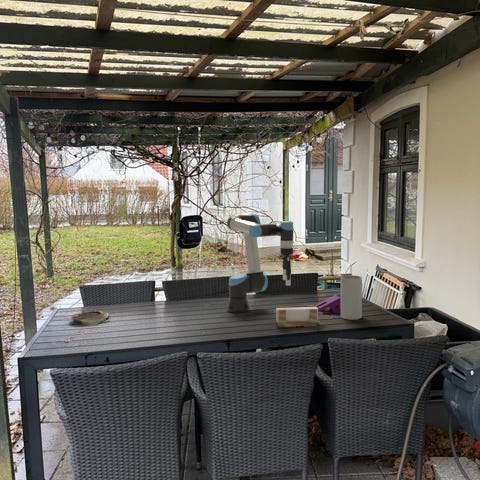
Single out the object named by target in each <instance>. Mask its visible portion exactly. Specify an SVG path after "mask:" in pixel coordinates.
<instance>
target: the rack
mask: <svg viewBox="0 0 480 480" xmlns="http://www.w3.org/2000/svg"><path fill="white" fill-rule="evenodd" d="M306 306H307V307H314V306H315V304H308V305H306ZM276 308H285V305H277V306H276ZM276 322H277V321H276ZM277 325H278V327H279V328H292V327H293V328H294V327H295V328H297V327H296V326H298V327H299V326H304V327H318V321H317V309H310V321H286V310H279V322H277Z"/></svg>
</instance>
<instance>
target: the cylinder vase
mask: <svg viewBox="0 0 480 480" xmlns="http://www.w3.org/2000/svg"><path fill="white" fill-rule="evenodd" d="M362 295H363V277H362V276H360V275H355V274H354V275H351V274H348V275H347V274H346V275H341V276H340V300H341V312H340V318H341V319H345V320H347V321H349V320H350V321H357V320H359V319H362V316H363V312H362V311H363V308H362V307H363V305H362V304H363V298H362V297H363V296H362Z"/></svg>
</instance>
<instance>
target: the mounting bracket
mask: <svg viewBox="0 0 480 480" xmlns="http://www.w3.org/2000/svg"><path fill="white" fill-rule="evenodd" d="M314 307H317V308H318V312H322V311H325V310H326V309H328V308H329V309H330V310H331V311H332V312H333V313H335V314H336V313H338V314H339V313H341V297H339V296H338V295H337V294H334V295H333V296H330V297H329V298H327V299H324V300H323V301H321V302H318V303H317V304H314Z"/></svg>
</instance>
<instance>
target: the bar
mask: <svg viewBox="0 0 480 480" xmlns="http://www.w3.org/2000/svg"><path fill="white" fill-rule="evenodd" d="M310 309H317V322H318V321H319V316H323V314H324V313H323V312H322V311H320V312H318V308H317V307H304V306H303V307H284V308H277V307H276V308H275V318H276V319H275V320H276V322H279V310H286V322H307V321H310Z"/></svg>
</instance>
